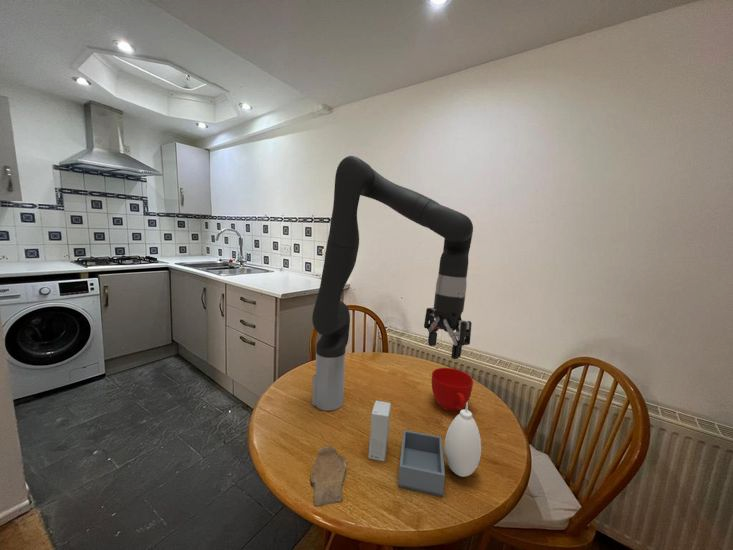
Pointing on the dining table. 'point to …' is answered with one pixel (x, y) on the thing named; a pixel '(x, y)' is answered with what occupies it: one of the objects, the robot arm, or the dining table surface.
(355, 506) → the dining table surface
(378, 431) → the skincare box
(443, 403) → the ceramic cup
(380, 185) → the robot arm
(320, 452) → the pottery shard
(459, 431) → the sauce bottle
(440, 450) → the bin
